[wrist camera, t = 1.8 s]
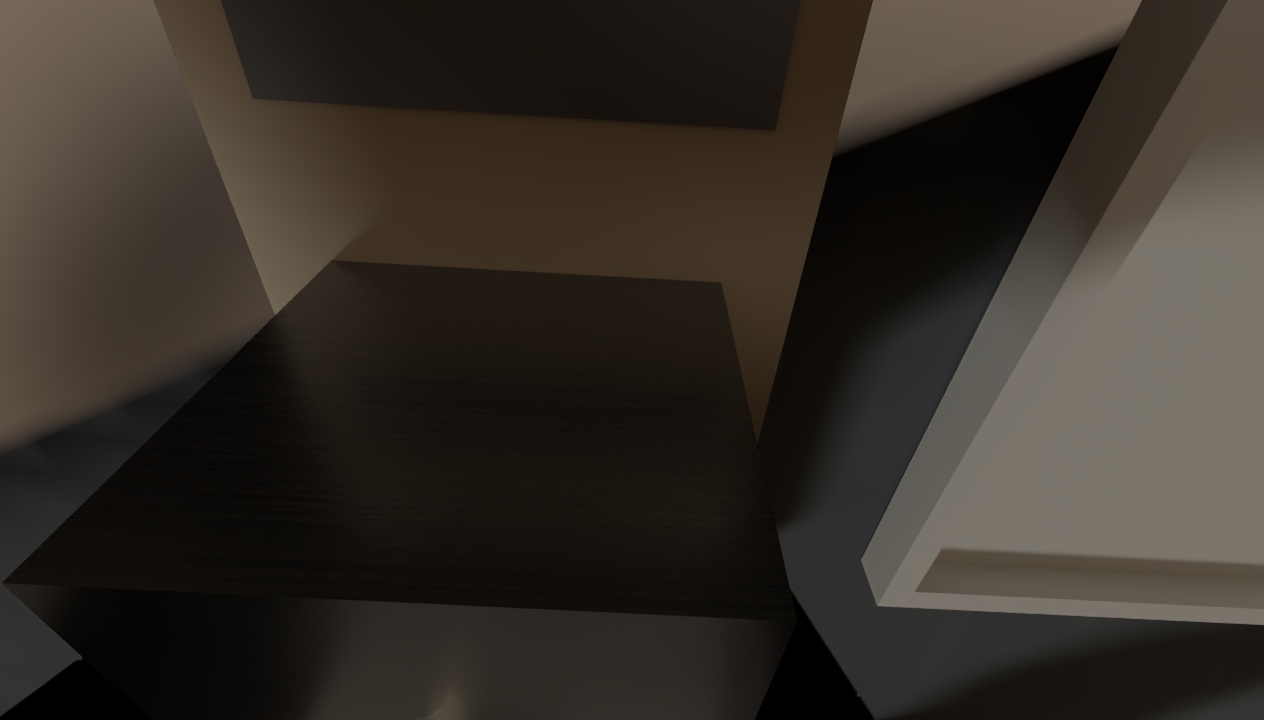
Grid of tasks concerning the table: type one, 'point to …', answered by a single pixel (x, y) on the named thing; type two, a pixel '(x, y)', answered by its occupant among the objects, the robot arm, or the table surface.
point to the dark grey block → (441, 514)
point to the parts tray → (1114, 363)
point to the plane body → (530, 138)
